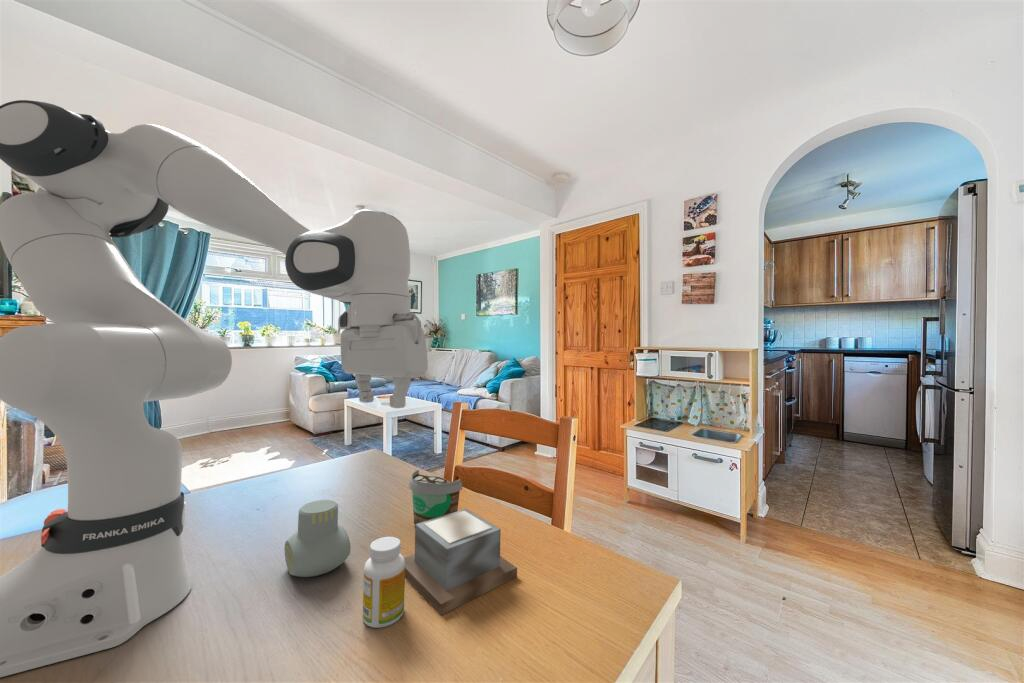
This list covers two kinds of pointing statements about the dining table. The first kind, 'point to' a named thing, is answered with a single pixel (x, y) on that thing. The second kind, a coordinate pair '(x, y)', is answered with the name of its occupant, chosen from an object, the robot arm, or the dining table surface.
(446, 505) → the food container
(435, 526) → the pedestal
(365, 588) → the supplement bottle
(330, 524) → the air freshener
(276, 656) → the dining table surface
